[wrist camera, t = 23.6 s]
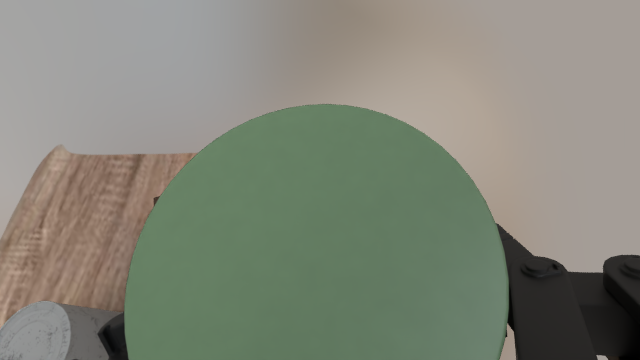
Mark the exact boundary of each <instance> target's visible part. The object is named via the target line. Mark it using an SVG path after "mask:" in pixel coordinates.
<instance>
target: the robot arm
mask: <svg viewBox="0 0 640 360" xmlns="http://www.w3.org/2000/svg"><path fill="white" fill-rule="evenodd" d="M496 225H497V228H498V232H499V235H500V239H501V242H502V245H503V249H504V253H505V259H506V266H507V272H508V279H509V313H508V321H507V323H508V324H509V326H510V327H511V329H512V330H513V331H514V337H515V348H516V360H598V359H597V356H596V355H604V356H606V357H607V358H608V360H640V256H639V255H619V256H615V257H611V258H609V259H607V260H606V261H605V262H604V265H603V273H582V272H581V273H580V272H568V271H567V270H566V269H565V267H564V266H563V265H562V264H560V263H558V262H557V261H555V260H552V259H549V258H545V257H538V256H533V255H532V254H531V253H530V252H529V251H528V250H527V249H526V248H525V247H523V246H522V245H521V244H520V243H519V242H518V241H517V240H515V239H513V237H512V236H511V235H510V234H509V233H507V232H506V231H505V230H504V229H503V228H502V227H501V226H499V224H496ZM97 335H98V337H99V339H100V341H101V342H102V344H103V346H104V348H105V350H106V352H107V354H108V356H109V358H108V360H129V359H128V352H127V345H126V338H125V322H124V312H123V313H121V314H119V315H117V316H115V317H114V318H112V319H111V320H109V321H108V322H107V323H106V324H105V325H103V326H102V327H101V328H100V330H99V332H98V333H97ZM505 337H507V328H506V336H505ZM72 360H78V359H72Z"/></svg>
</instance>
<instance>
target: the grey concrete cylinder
mask: <svg viewBox="0 0 640 360" xmlns="http://www.w3.org/2000/svg"><path fill="white" fill-rule="evenodd" d="M121 313H123V312H115V311H108V310H101V309H95V308H88V307H81V306H74V305H67V304H60V303H55V302H51V301H39V302H36V303H32V304H30V305H28V306H26V307H24V308H22V309H20V310H19V311H18V312H16V313H15V314H14V315H12V316H11V317H10V318H9V319H8V321H7V322H6V323H5V324H4V325H3V326H2V327H1V329H0V360H72V359H78V360H108V358H109V356H108V354H107V352H106V350H105V348H104V346H103V344H102V342H101V341H100V339H99V337H98V335H97V333H98V332H99V330H100V328H101V327H102V326H103V325H105V324H106V323H107V322H108V321H109V320H111V319H112V318H114V317H115V316H117V315H119V314H121Z"/></svg>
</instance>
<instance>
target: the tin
mask: <svg viewBox="0 0 640 360" xmlns="http://www.w3.org/2000/svg"><path fill="white" fill-rule="evenodd" d="M508 313H509V279H508V272H507V266H506V259H505V253H504V249H503V245H502V242H501V239H500V235H499V232H498V228H497V225H496V223H495V221H494V219H493V216H492V214H491V212H490V210H489V208H488V205H487V204H486V201H485V199H484V198H483V196H482V195H481V193H480V191H479V190H478V188H477V187H476V185H475V183H474V182H473V180H472V179H471V178H470V176H469V175H468V174H467V173H466V172H465V170H464V169H463V168H462V167H461V165H460V164H459V163H458V162H457V161H456V160H455V159H454V158H453V157H452V156H451V155H450V154H449V153H448V152H447V151H446V150H445V149H444V148H443V147H442V146H440V145H439V144H438V143H436V142H435V141H434V140H432V139H431V138H430V137H428V136H427V135H425V134H424V133H422V132H421V131H419V130H417V129H416V128H414V127H412V126H410V125H409V124H407V123H405V122H403V121H400V120H398V119H395V118H393V117H391V116H388V115H386V114H383V113H379V112H376V111H373V110H369V109H365V108H360V107H354V106H348V105H334V104H333V105H332V104H318V105H305V106H298V107H292V108H286V109H282V110H278V111H275V112H271V113H268V114H265V115H262V116H260V117H257V118H254V119H251V120H249V121H247V122H245V123H243V124H241V125H239V126H237V127H235V128H233V129H231V130H230V131H228V132H227V133H225V134H223V135H222V136H220V137H219V138H217V139H216V140H214V141H213V142H212V143H210V144H209V145H208V146H206V147H205V148H204V149H202V150H201V151H200V152H199V153H198V154H197V155H196V156H194V157H193V158H192V159H191V160H190V161H189V162H188V163H187V164H186V165H185V166H184V167H183V168H182V169H181V170H180V172H179V173H178V174H177V175H176V176H175V177H174V178H173V180H172V181H171V182H170V183H169V185H168V186H167V188H166V189H165V190H164V192H163V193H162V195H161V196H160V197H159V199H158V201H157V202H156V204H155V206H154V207H153V209H152V211H151V213H150V214H149V216H148V218H147V220H146V223H145V225H144V227H143V229H142V231H141V234H140V236H139V238H138V241H137V244H136V247H135V251H134V254H133V257H132V260H131V264H130V269H129V274H128V279H127V283H126V294H125V304H124V322H125V338H126V345H127V352H128V359H129V360H499V359H500V356H501V352H502V349H503V345H504V341H505V336H506V328H507V321H508Z"/></svg>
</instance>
